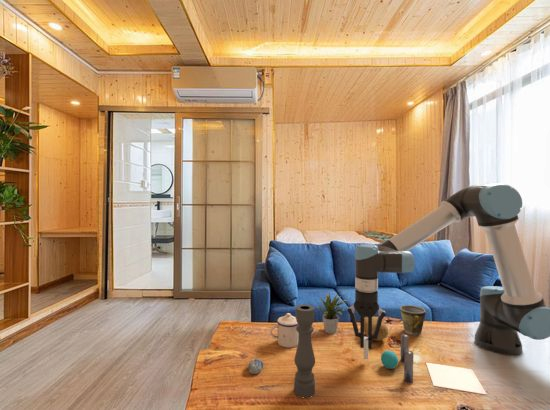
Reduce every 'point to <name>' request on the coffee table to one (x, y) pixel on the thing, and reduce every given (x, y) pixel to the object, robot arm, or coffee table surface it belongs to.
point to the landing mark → (454, 378)
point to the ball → (389, 359)
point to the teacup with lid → (286, 331)
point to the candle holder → (304, 352)
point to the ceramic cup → (412, 319)
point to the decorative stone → (255, 366)
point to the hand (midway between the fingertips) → (365, 357)
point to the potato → (382, 332)
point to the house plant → (331, 313)
